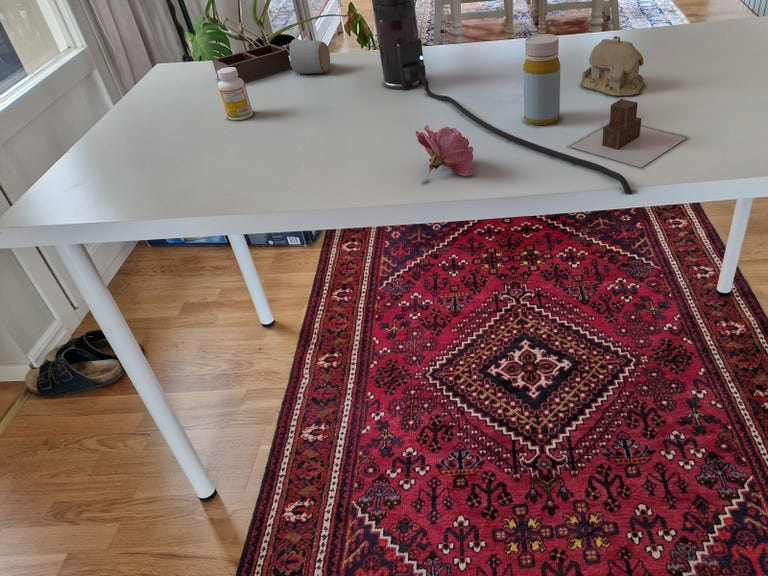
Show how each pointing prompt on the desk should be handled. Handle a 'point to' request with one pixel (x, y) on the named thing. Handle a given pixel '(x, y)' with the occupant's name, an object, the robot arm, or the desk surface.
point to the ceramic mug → (309, 56)
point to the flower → (447, 149)
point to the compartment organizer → (256, 62)
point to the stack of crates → (628, 137)
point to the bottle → (541, 79)
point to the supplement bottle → (234, 94)
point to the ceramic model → (614, 68)
